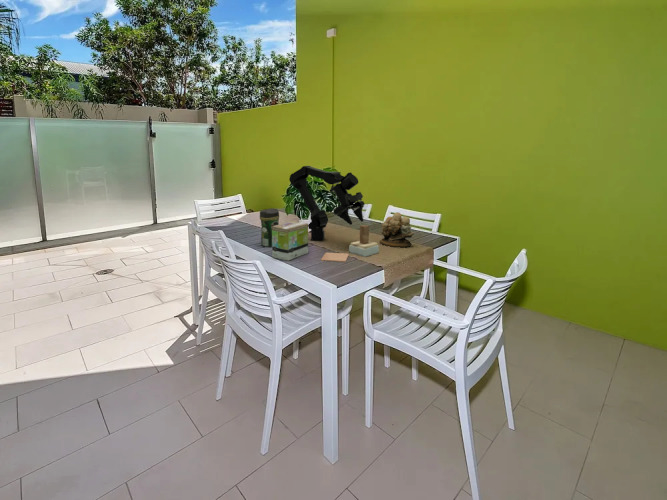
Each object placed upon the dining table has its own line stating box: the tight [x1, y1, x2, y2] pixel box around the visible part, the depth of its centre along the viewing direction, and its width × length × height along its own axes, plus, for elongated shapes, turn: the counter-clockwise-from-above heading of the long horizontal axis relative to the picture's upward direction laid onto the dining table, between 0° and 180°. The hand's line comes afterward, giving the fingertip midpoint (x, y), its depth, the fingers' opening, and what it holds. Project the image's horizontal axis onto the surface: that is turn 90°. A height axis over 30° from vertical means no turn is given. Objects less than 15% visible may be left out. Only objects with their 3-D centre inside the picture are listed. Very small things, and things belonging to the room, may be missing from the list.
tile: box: [320, 252, 350, 263], centre depth 172 cm, size 11×11×1 cm
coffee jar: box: [259, 207, 280, 248], centre depth 189 cm, size 10×8×19 cm
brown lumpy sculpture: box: [379, 212, 415, 249], centre depth 191 cm, size 18×12×17 cm, turn 60°
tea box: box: [271, 220, 309, 262], centre depth 173 cm, size 15×10×15 cm, turn 148°
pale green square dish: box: [348, 244, 380, 258], centre depth 179 cm, size 10×10×4 cm
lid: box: [350, 224, 378, 249], centre depth 177 cm, size 9×9×10 cm
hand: (357, 222), depth 183 cm, fingers open, 9 cm apart
